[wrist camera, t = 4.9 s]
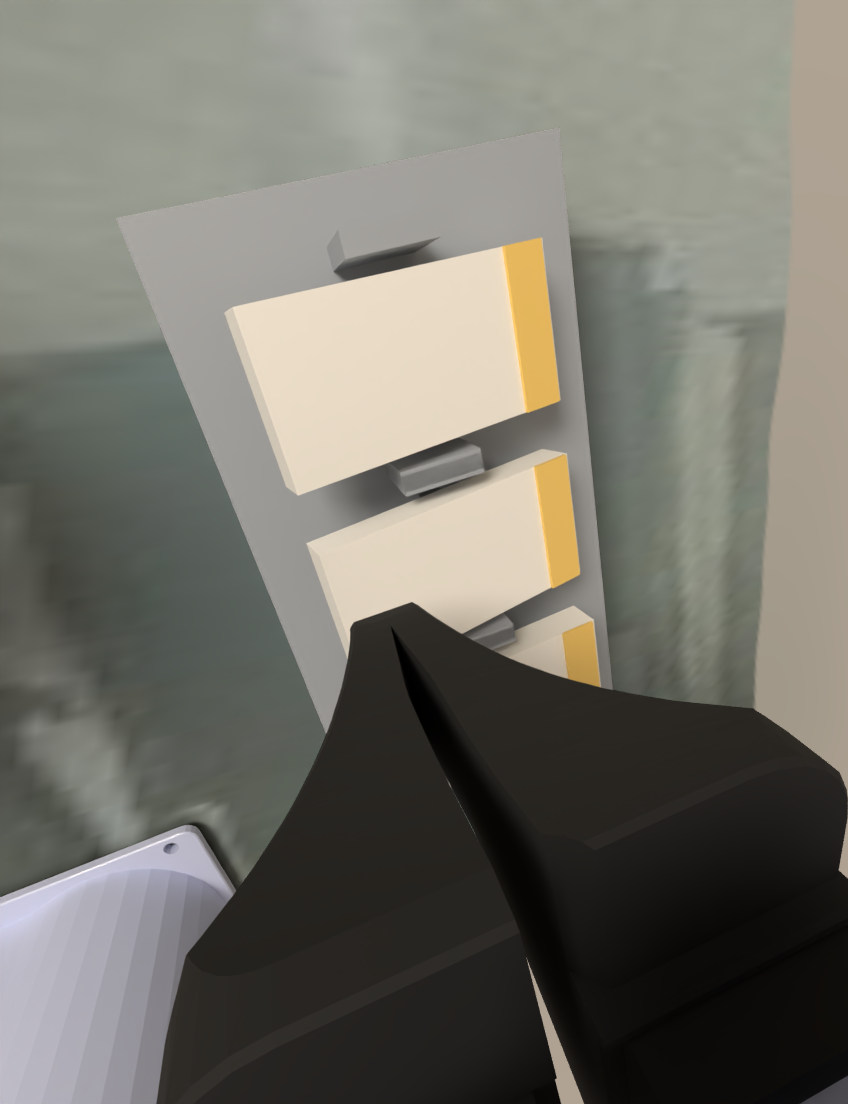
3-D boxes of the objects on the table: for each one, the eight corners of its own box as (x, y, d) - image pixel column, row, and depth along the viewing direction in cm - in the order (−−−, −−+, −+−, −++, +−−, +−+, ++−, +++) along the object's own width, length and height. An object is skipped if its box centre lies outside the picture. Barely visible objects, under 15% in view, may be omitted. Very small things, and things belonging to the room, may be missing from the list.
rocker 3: (393, 785, 16) (404, 812, 15) (361, 696, 15) (371, 719, 14) (584, 694, 18) (605, 713, 17) (573, 605, 16) (595, 620, 15)
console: (347, 755, 21) (370, 868, 16) (145, 243, 13) (86, 192, 9) (575, 666, 22) (653, 746, 18) (509, 165, 15) (615, 88, 10)
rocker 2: (349, 665, 14) (365, 686, 13) (306, 543, 12) (320, 556, 11) (557, 561, 16) (582, 573, 15) (542, 449, 15) (569, 453, 14)
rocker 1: (285, 487, 12) (298, 496, 11) (224, 312, 10) (232, 306, 9) (534, 398, 14) (563, 399, 13) (514, 246, 13) (544, 236, 12)
